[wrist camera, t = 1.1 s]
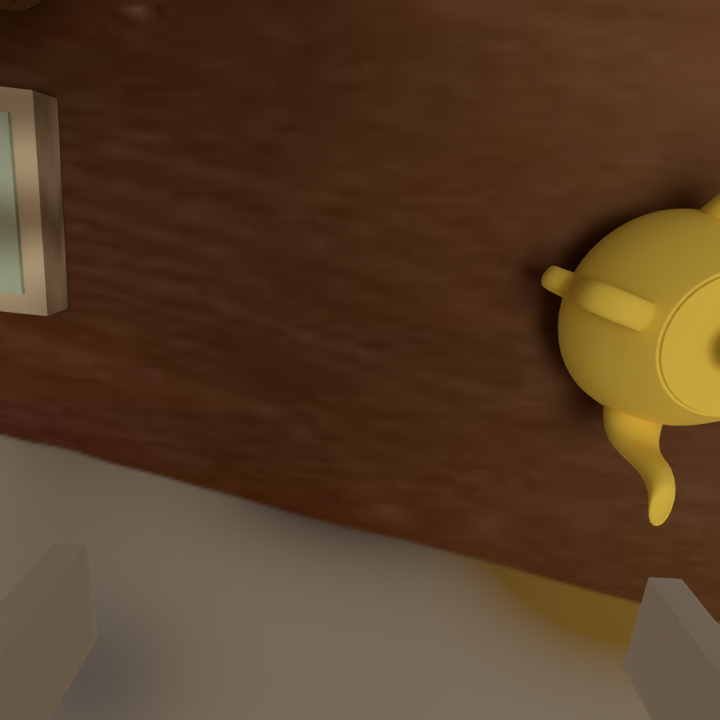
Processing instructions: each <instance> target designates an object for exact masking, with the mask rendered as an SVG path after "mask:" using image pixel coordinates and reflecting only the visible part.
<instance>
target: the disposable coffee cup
mask: <svg viewBox="0 0 720 720" xmlns="http://www.w3.org/2000/svg"><path fill="white" fill-rule="evenodd" d="M41 1H43V0H0V9H3V10H7V11H20V10H26V9H29V8H31V7H33V6H35V5H37V4H39V3H40V2H41Z"/></svg>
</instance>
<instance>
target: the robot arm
mask: <svg viewBox="0 0 720 720" xmlns="http://www.w3.org/2000/svg"><path fill="white" fill-rule="evenodd" d="M97 638H98V636H97V629H96V620H95V612H94V604H93V596H92V587H91V579H90V572H89V563H88V556H87V547H86V545H81V544H64V543H53V544H52V545H51V546H50V547H49V548H48V549H47V550H46V551H45V553H44V554H43V555H42V556H41V557H40V558H39V559H38V561H37V562H36V563H35V564H34V565H33V566H32V567H31V569H30V570H29V571H28V572H27V573H26V574H25V575H24V576H23V578H22V579H21V580H20V581H19V582H18V583H17V584H16V585H15V587H14V588H13V589H12V590H11V591H10V592H9V593H8V595H7V596H6V597H5V598H4V599H3V600H2V601H1V603H0V720H49V719H50V717H51V715H52V714H53V712H54V710H55V708H56V707H57V705H58V703H59V702H60V700H61V698H62V697H63V695H64V693H65V692H66V690H67V688H68V687H69V685H70V683H71V682H72V680H73V678H74V677H75V675H76V673H77V671H78V670H79V668H80V667H81V665H82V663H83V662H84V660H85V658H86V657H87V655H88V653H89V651H90V650H91V648H92V646H93V645H94V643H95V641H96V639H97ZM623 668H624V670H625V672H626V673H627V675H628V677H629V679H630V681H631V683H632V685H633V686H634V688H635V690H636V692H637V694H638V696H639V698H640V700H641V701H642V703H643V705H644V707H645V709H646V710H647V713H648V714H649V716H650V718H651V720H720V626H719V625H718V624H717V623H716V621H715V620H714V619H713V618H712V616H711V615H710V614H709V613H708V611H707V610H706V609H705V608H704V607H703V605H702V604H701V603H700V602H699V600H698V599H697V598H696V597H695V595H694V594H693V593H692V592H691V590H690V589H689V588H688V587H687V585H686V584H685V583H684V582H683V580H682V579H670V578H653V577H649V579H648V582H647V586H646V589H645V593H644V596H643V600H642V603H641V607H640V611H639V614H638V617H637V622H636V625H635V628H634V632H633V635H632V638H631V642H630V645H629V649H628V653H627V656H626V660H625V663H624V666H623Z"/></svg>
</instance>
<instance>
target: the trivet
mask: <svg viewBox="0 0 720 720" xmlns="http://www.w3.org/2000/svg"><path fill="white" fill-rule="evenodd" d="M65 309H68V291H67V273H66V254H65V235H64V216H63V198H62V179H61V160H60V142H59V123H58V104H57V98H54V97H51V96H48V95H45V94H42V93H39V92H36V91H33V90H26V89H18V88H9V87H1V86H0V311H5V312H14V313H23V314H33V315H42V316H49V315H52V314H54V313H57V312H60V311H62V310H65Z"/></svg>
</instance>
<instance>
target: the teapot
mask: <svg viewBox="0 0 720 720" xmlns="http://www.w3.org/2000/svg"><path fill="white" fill-rule="evenodd" d="M541 284H542V286H543V287H544V288H546V289H547V290H549V291H551V292H553V293H555V294H557V295H559V296H561V297H562V302H561V306H560V311H559V319H558V340H559V346H560V351H561V355H562V358H563V361H564V363H565V366H566V367H567V369H568V371H569V373H570V375H571V376H572V378H573V379H574V381H575V382H576V383H577V385H578V386H579V387H580V388H581V389H582V390H583V391H584V392H585V393H586V394H588V395H589V396H590V397H592V398H593V399H594V400H596V401H597V402H598V403H600V404H601V405H603V420H604V426H605V431H606V433H607V436H608V438H609V440H610V442H611V443H612V445H613V446H614V447H615V448H616V450H617V451H618V452H619V453H620V454H621V455H622V456H623V457H624V458H625V459H626V460H627V461H628V462H629V463H630V464H631V465H632V466H633V467H634V468H635V469H636V470H637V471H638V472H639V473H640V475H641V476H642V478H643V480H644V482H645V484H646V487H647V491H648V514H649V519H650V521H651V523H652V524H653V525H654V526H658V525H661V524H662V523H663V522H664V521H665V520H666V519H667V517H668V515H669V513H670V511H671V509H672V506H673V503H674V499H675V480H674V476H673V473H672V470H671V468H670V467H669V465H668V463H667V462H666V461H665V459H664V458H663V457H662V455H661V453H660V450H659V438H660V432H661V428H662V425H663V424H664V425H674V426H677V425H697V424H704V423H711V422H716V421H720V194H718V195H717V196H715V197H714V198H712V199H711V200H710V201H709V202H708V203H707V204H706V205H704V206H703V207H702V208H701V209H700V210H696V209H668V210H661V211H656V212H653V213H649V214H646V215H643V216H640V217H638V218H635V219H633V220H631V221H629V222H627V223H625V224H623V225H622V226H620V227H618V228H616V229H615V230H614V231H612V232H611V233H610V234H608V235H607V236H606V237H604V238H603V239H602V240H601V241H600V242H599V243H597V244H596V245H595V246H594V247H593V248H592V249H591V250H590V251H589V253H588V254H587V255H586V256H585V257H584V258H583V260H582V261H581V262H580V264H579V265H578V267H577V268H576V270H575V271H574V272H571V271H568V270H565V269H563V268H560V267H557V266H551V267H549V268H548V269H547V270H546V271H545V272H544V274H543V276H542V280H541Z"/></svg>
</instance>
